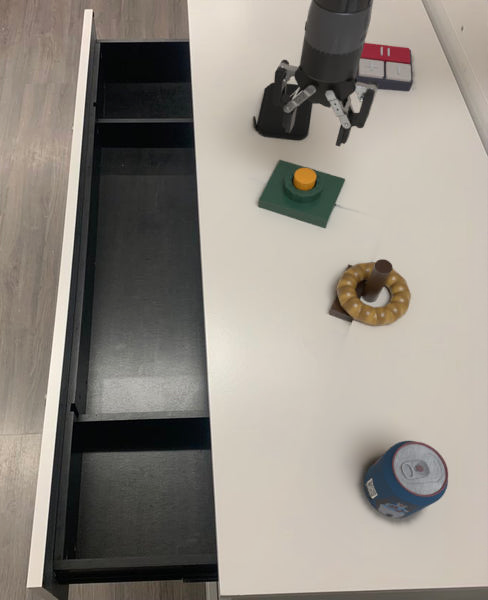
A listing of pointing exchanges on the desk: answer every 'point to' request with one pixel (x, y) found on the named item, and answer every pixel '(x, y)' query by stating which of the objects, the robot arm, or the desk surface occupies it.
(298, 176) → the button
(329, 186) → the green push button box
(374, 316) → the ring
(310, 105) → the carrying case
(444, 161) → the desk surface
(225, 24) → the desk surface
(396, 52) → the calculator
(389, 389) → the desk surface
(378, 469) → the soda can
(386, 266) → the stand
